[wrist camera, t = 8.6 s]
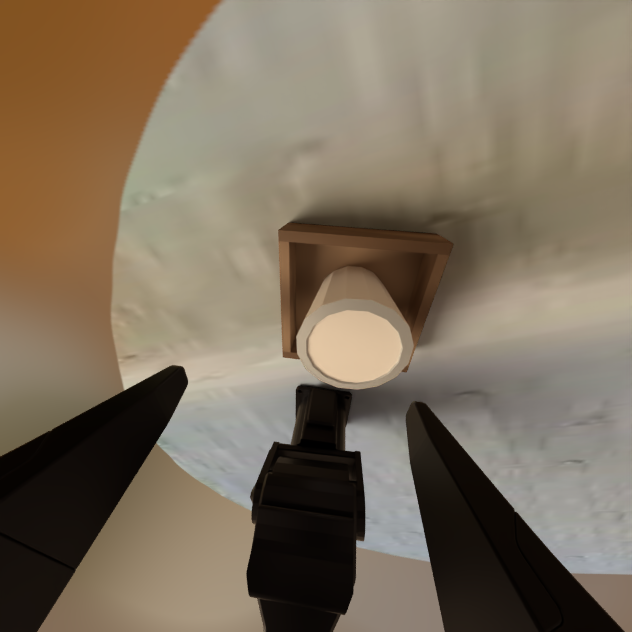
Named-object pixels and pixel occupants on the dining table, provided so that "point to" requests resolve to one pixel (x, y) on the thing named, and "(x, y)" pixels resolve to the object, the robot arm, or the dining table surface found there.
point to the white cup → (354, 332)
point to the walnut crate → (358, 251)
